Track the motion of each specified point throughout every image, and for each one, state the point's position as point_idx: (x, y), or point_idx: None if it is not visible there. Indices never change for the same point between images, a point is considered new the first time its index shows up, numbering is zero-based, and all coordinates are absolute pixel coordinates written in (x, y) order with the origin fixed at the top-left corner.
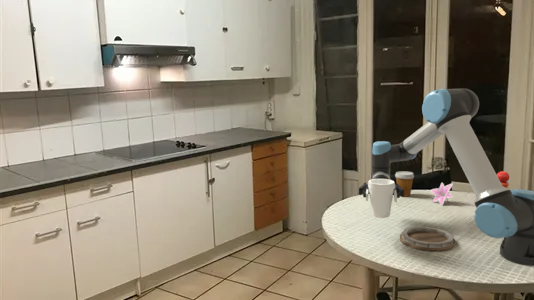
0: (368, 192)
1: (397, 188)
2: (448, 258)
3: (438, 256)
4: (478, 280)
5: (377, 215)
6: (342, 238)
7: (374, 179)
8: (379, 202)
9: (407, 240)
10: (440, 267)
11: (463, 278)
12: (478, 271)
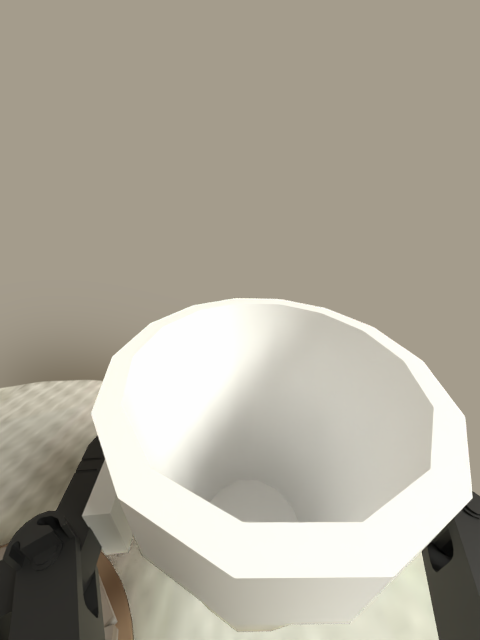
0: (441, 585)
1: (49, 524)
2: (24, 484)
3: (48, 492)
4: (48, 385)
5: (262, 476)
6: (426, 606)
7: (429, 454)
8: (256, 412)
9: (109, 605)
10: (92, 419)
11: (74, 386)
12: (8, 420)
